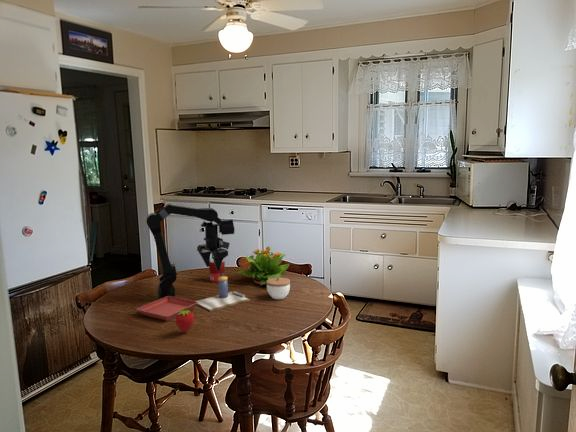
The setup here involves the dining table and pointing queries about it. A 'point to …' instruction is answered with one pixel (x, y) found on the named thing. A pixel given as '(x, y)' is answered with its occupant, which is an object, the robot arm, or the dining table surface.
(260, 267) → the potted flower
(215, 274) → the canned food
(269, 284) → the lidded jar
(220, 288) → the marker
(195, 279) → the dining table surface
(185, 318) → the strawberry
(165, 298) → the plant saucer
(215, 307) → the clipboard
